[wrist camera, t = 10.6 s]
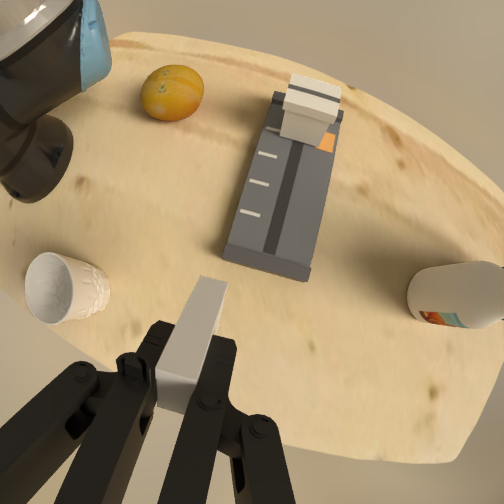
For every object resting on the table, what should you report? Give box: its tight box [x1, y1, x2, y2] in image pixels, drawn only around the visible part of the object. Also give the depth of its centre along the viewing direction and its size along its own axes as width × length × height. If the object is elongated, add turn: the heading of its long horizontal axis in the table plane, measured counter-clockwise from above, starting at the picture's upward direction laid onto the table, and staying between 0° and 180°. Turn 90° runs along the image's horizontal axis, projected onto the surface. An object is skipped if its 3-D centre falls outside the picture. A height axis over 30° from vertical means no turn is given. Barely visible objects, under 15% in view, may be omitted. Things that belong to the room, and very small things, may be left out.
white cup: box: [24, 252, 111, 326], centre depth 29 cm, size 8×8×10 cm
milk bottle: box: [407, 261, 504, 329], centre depth 25 cm, size 8×8×20 cm
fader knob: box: [280, 73, 342, 147], centre depth 31 cm, size 5×6×8 cm
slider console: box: [222, 91, 344, 282], centre depth 35 cm, size 24×10×3 cm, turn 164°
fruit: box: [141, 65, 204, 121], centre depth 34 cm, size 9×8×8 cm
